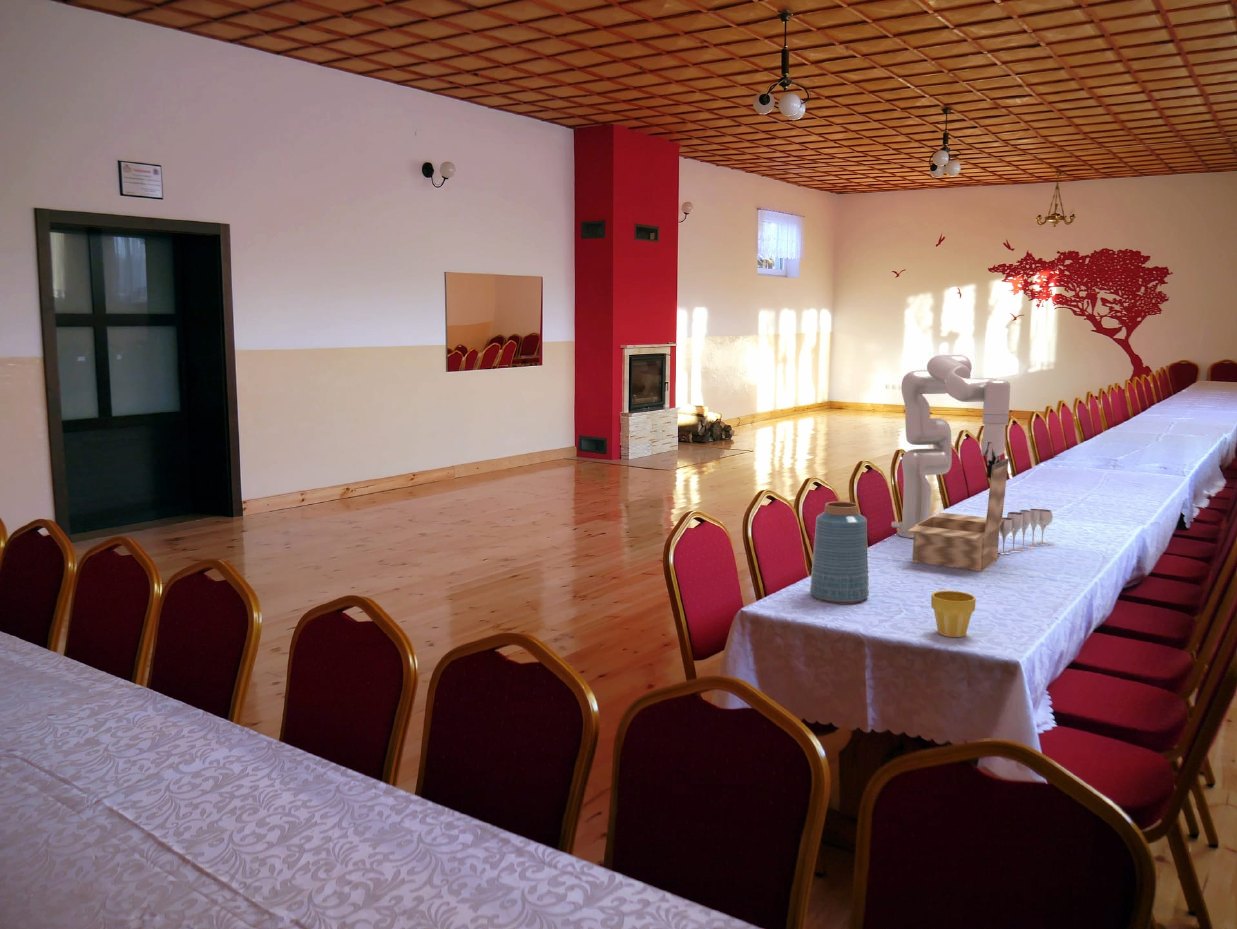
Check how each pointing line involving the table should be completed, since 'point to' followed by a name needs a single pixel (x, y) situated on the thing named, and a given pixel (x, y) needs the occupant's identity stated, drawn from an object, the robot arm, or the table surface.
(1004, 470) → the lid flap
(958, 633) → the plant pot
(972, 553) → the carton
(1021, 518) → the goblet set
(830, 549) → the vase
